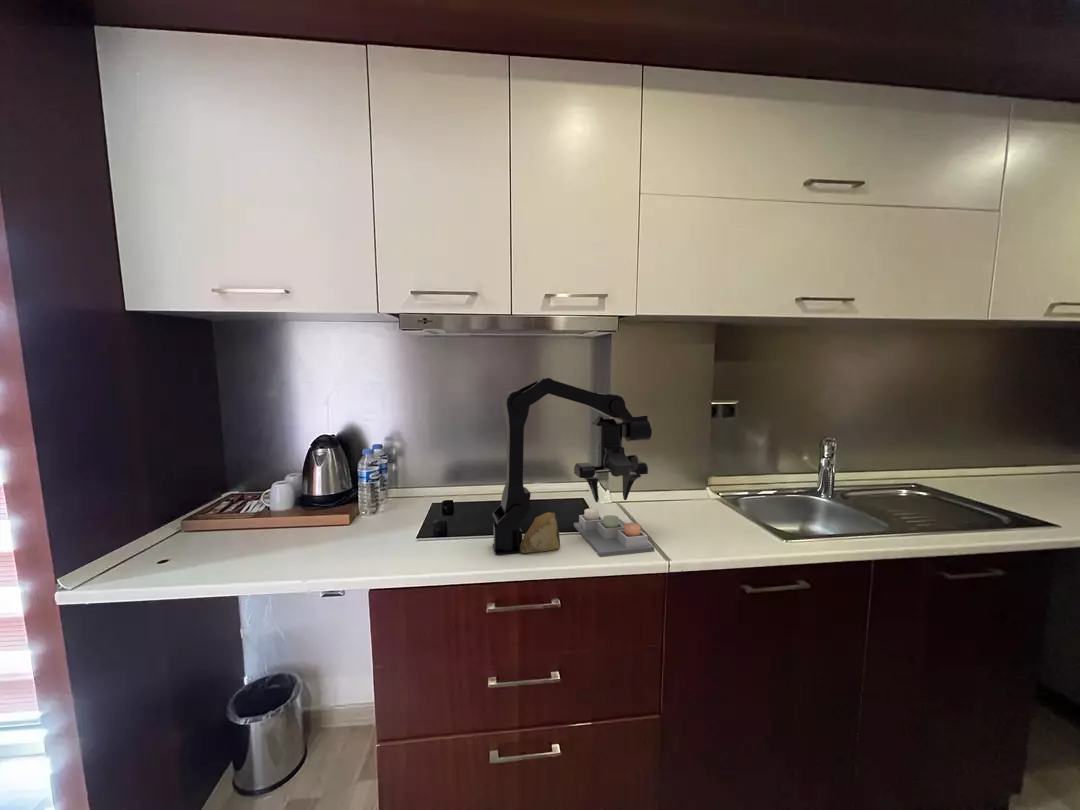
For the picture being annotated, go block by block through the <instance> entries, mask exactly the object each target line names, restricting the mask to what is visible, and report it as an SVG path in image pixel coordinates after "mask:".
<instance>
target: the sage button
mask: <svg viewBox="0 0 1080 810" xmlns="http://www.w3.org/2000/svg"><path fill="white" fill-rule="evenodd" d="M602 518H603V526H604V527H605V528H606V529H607V528H618V527H619V519H620V518H619V516H618V515H612V514H607V515H604V516H603V517H602Z"/></svg>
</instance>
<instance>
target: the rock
mask: <svg viewBox="0 0 1080 810" xmlns="http://www.w3.org/2000/svg"><path fill="white" fill-rule="evenodd" d="M560 547H561V539H560V530H559V526H558V520H557V517H556V513H555V512H551V511H550V512H549V511H548V512H544V513H542V514H540V515H538V516H536V517H535V518H534V520H533V521H532V524H531V525H530V527H529V528H528V530H527V531H526V532H525V533H524V535H523V536H522V542H521V544H520V548H519V550H520V551H521V552H520V553H521V554H527V553H536V552H549V551H556V550H559V549H560Z"/></svg>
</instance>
